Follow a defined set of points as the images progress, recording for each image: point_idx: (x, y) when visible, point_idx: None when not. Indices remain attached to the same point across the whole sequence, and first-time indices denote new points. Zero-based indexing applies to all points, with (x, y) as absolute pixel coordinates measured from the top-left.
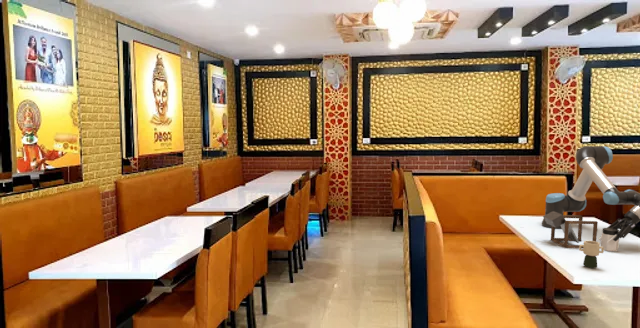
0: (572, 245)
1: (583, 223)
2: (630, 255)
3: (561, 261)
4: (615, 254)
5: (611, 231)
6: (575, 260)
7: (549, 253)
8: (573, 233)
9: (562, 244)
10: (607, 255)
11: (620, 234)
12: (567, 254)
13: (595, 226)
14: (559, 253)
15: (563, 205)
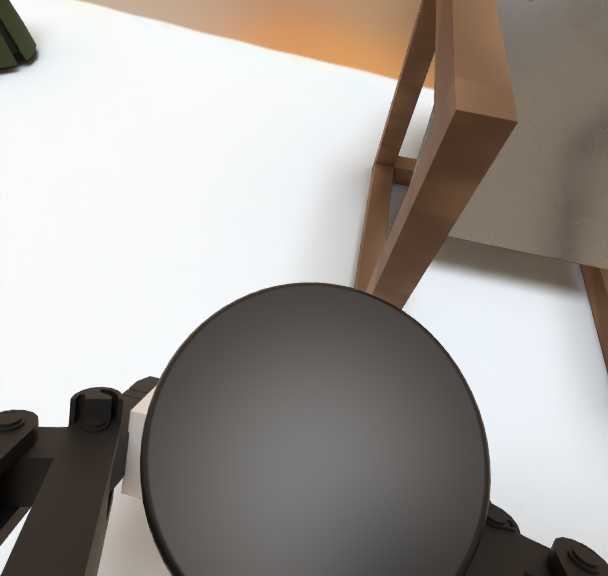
0: (373, 188)
1: (438, 20)
2: (13, 540)
3: (139, 29)
4: (121, 387)
5: (195, 331)
6: (125, 72)
7: (270, 57)
8: (429, 120)
9: (410, 161)
10: (127, 291)
11: (13, 412)
12: (233, 102)
13: (416, 173)
14: (261, 86)
15: None
